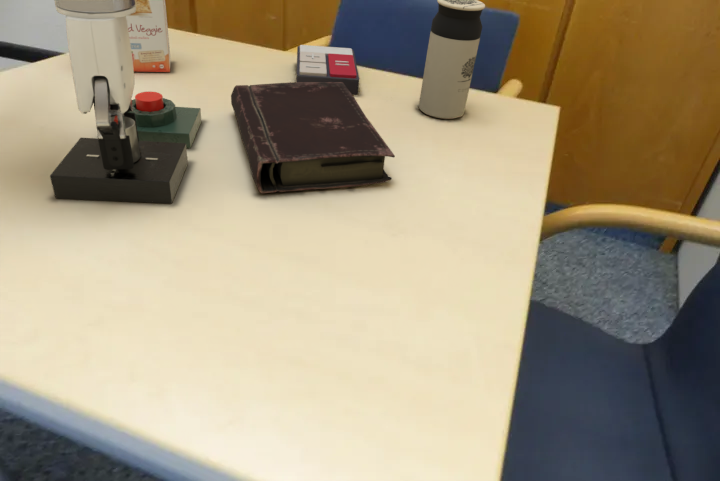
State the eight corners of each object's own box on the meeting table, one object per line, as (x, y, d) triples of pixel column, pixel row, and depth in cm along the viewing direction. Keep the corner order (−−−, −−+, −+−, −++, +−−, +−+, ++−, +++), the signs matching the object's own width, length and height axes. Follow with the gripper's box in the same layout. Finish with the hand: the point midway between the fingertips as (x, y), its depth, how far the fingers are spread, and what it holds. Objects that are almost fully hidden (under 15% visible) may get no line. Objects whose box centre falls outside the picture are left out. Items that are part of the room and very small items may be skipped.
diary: (254, 196, 68) (254, 159, 65) (231, 114, 87) (230, 83, 84) (396, 185, 74) (401, 151, 71) (345, 110, 93) (347, 81, 90)
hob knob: (138, 165, 65) (132, 127, 63) (101, 166, 65) (94, 127, 62) (142, 150, 69) (136, 113, 66) (107, 150, 68) (100, 113, 65)
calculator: (296, 71, 95) (297, 41, 107) (295, 95, 98) (296, 63, 110) (360, 75, 97) (354, 45, 108) (357, 98, 99) (352, 66, 111)
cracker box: (86, 73, 96) (59, -64, 84) (90, 61, 100) (66, -70, 88) (171, 73, 99) (157, -58, 87) (172, 62, 104) (159, -64, 92)
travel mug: (408, 106, 97) (425, -4, 86) (441, 99, 101) (460, -6, 91) (440, 123, 92) (462, 9, 82) (473, 115, 96) (497, 6, 86)
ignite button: (133, 112, 76) (131, 100, 75) (140, 102, 79) (138, 90, 78) (160, 114, 76) (159, 101, 75) (166, 104, 79) (165, 92, 78)
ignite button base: (100, 143, 75) (94, 115, 73) (119, 116, 83) (114, 90, 80) (190, 148, 77) (188, 121, 74) (201, 121, 84) (199, 96, 82)
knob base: (55, 198, 64) (49, 174, 62) (85, 158, 72) (80, 136, 70) (171, 203, 65) (169, 180, 63) (188, 163, 73) (185, 141, 71)
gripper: (69, -25, 62) (99, 126, 72) (33, 15, 48) (75, 193, 59) (141, -22, 64) (159, 125, 74) (125, 18, 50) (150, 191, 61)
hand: (122, 154), depth 66 cm, fingers open, 5 cm apart
